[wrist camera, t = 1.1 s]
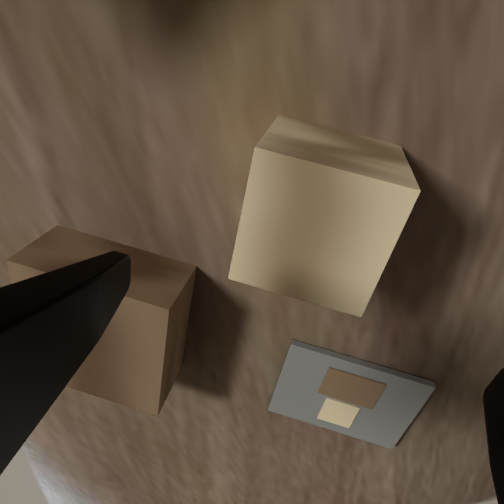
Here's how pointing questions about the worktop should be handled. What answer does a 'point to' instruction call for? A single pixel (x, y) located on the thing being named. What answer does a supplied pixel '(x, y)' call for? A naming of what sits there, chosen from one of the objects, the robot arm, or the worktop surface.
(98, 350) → the walnut block
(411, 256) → the worktop surface
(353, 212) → the maple cube
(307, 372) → the card
